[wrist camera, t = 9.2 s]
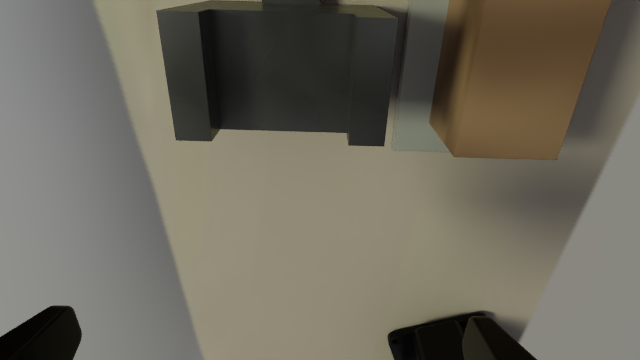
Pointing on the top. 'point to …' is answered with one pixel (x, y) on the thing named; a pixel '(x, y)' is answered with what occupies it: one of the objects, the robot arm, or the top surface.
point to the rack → (279, 67)
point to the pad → (419, 77)
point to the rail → (512, 75)
